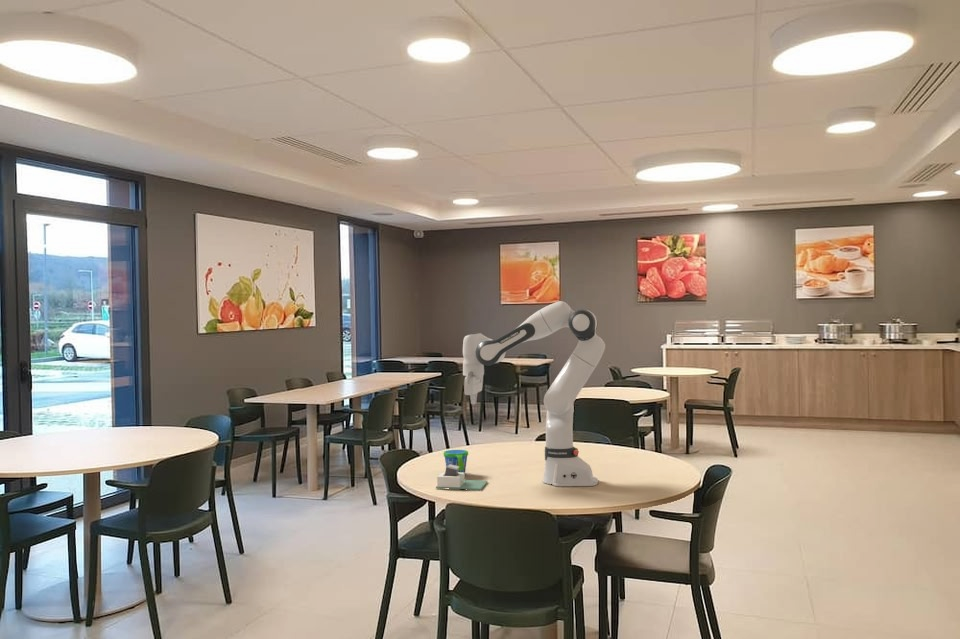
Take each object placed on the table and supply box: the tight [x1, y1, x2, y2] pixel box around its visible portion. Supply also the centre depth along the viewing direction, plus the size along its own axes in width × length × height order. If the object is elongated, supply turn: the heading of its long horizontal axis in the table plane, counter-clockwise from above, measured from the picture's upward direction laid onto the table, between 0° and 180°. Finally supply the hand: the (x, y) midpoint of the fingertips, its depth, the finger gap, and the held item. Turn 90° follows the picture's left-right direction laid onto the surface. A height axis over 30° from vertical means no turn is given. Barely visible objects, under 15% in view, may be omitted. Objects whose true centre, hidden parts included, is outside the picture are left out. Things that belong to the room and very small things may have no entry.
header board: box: [435, 471, 488, 492], centre depth 273 cm, size 18×14×5 cm
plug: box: [444, 464, 459, 476], centre depth 272 cm, size 5×4×7 cm
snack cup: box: [443, 449, 469, 474], centre depth 293 cm, size 16×10×10 cm
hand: (473, 404), depth 288 cm, fingers closed
